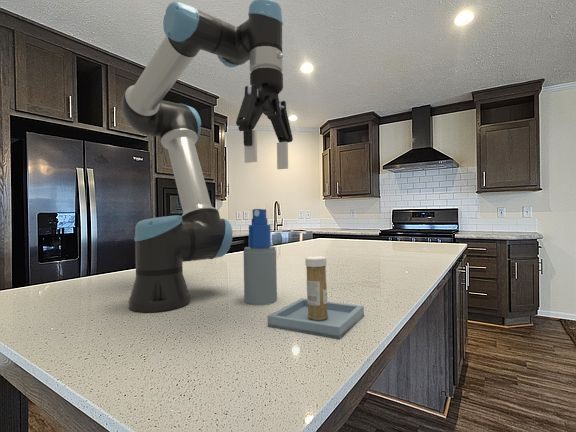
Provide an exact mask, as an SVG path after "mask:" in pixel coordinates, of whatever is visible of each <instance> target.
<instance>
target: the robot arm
mask: <svg viewBox="0 0 576 432" xmlns="http://www.w3.org/2000/svg"><path fill="white" fill-rule="evenodd" d="M247 13H248V14H247V16H248V18H247V20H246V21H244V22H242V23H241V24H239V25H238V26H236V25H233V24H231V23H228V22H227V21H225V20H223V19H220V18H217V17H216V16H212V15H210V14H209V13H206V12H204V11H202V10H200V9H197V8H196V7H195V6H193V5H189V4H185V3H183V2H179V1H172V2H171V3H169V4H168V5H167V7H166V9H165V14H164V15H163V22H162V23H163V25H162V27H163V28H162V29H163V32H164V35H165V37H164V38H163V40H162V41H161V43H160V45H159V46H158V47H157V49H156V51H155V52H154V54H153V56H152V57H151V59H150V60H149V62H148V64H147V65H146V66H145V68H144V70H143V71H142V73H141V75H139V78H137V81H136V82H135V84H133V85H130V86H129V87H128V88H127V89H126V90H125V91H124V93H123V95H122V98H121V111H122V115H123V117H124V119H125V120H126V122H127V123H128V125H130V126H129V127H131V128H132V129H134V130H135V131H136V132H138V133H140V134H142V135H145V136H150V137H156V138H157V137H158V138H159V140H160V143H161V146H162V147H163V149H167V153H168V155H169V160H170V165H171V168H172V172H173V176H174V181H175V185H176V188H177V193H178V197H179V201H180V204H181V209H182V215H176V214H175V215H169V216H168V215H167V216H160V217H159V216H158V217H152V218H146V219H142V220H140V221H138V222H137V223H136V225H135V229H134V231H135V233H134V237H133V239H134V248H135V250H134V253H135V254H134V257H135V278H134V280H135V281H134V282H133V286H132V289H131V293H130V296H129V298H128V299H129V300H128V308H129V310H130V311H134V312H138V313H139V312H140V313H150V312H151V313H156V312H167V311H171V310H176V309H179V308H183V307H184V306H187V305H188V304H190V302H191V296H190V295H191V293H190V291H189V289H188V286H187V283H186V279H185V277H184V272H183V265H184V264H183V263H185V262H186V263H187V262H193V261H195V262H196V261H202V260H203V261H204V260H213V259H217V258H222V257H224V256H225V255H226V254H227V253H228V251H230V248H231V245H232V242H233V228H232V224H231V222H230V221H229V220H228V219H225V218H221V216H220V212H219V209H217V208H216V207H214V206H212V203H211V199H210V195H209V194H210V193H209V191H208V187H207V185H206V181H205V177H204V173H203V170H202V169H203V168H202V166H201V162H200V158H199V155H198V152H197V148H196V143H197V142H198V140H199V138H200V135H201V133H202V131H201V130H202V128H201V126H202V120H201V117H200V115H199V112H198V111H197V110H196V109H195V108H194V107H192V106H190V105H187V104H185V103H176V102H172V101H167V100H164V98H165V96H166V95H167V94H168V92H169V91H170V90H171V89H172V87H173V86H174V84H175V83H176V81H177V80H178V79H179V78H180V77H181V75H182V74H183V73H184V71H186V69H187V67H188V66H189V65H190V64H191V63H192V61H193V60H194V59H195V57H196V56H197V55H198V54H199V52H200V51H204V52H207V53H209V54H210V53H211V54H213V55H216V56H217V58H218V59H219V61H220V62H222V64H223V65H224V66H225V67H228V68H236V67H238V66H241V65H244V64H246V63H247V62H249V85H246V86H244V96H243V99H242V102H241V104H240V109H239V110H238V111H239V112H238V114H237V118H236V122H235V125H236V126H237V127H238V131H239V132H243V133H242V134H243V146H244V147H243V149H244V150H243V151H244V163H246V164H249V163H258V143H257V142H258V140H257V139H258V137H257V135H258V133H257V132H258V131H257V130H254V129H255V128H256V125H257V124H258V122H259V120H260V118H261V117H262V116H263V114H264V115H265V116H266V117H267V119H269V120H270V122H271V125H272V127H273V130H274V133H275V136H276V138H277V141H278V142H276V158H277V159H276V165H277V166H276V167H277V168H276V169H277V170H288V169H289V143H291V142H293V140H294V138H293V134H292V129H291V126H290V125H291V124H290V120H289V116H288V113H287V112H288V111H287V102H286V100H280V99H279V94H280V93H281V92H282V91H283V90H284V76H283V75H284V74H283V73H282V72H283V58H284V54H283V25H284V24H283V23H284V22H283V17H282V8H281V6H280V4H279V2H277V1H276V0H252V1H251V3H250V4H249V7H248V12H247Z"/></svg>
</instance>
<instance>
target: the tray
mask: <svg viewBox="0 0 576 432" xmlns="http://www.w3.org/2000/svg"><path fill="white" fill-rule="evenodd" d="M327 314H328V318H327V319H324V320H311V319H309V318H308V303H307V298H304V297H303V298H299V299H297V300H296V301H294V302H291V303H289V304H287V305H285V306H283V307H282V308H280V309H279V310H276V311H274V312H272V313H270V314H268V315H267V316H266V318H267V327H269V328H275V329H280V330H281V329H282V330H286V331H293V332H298V333H302V334H303V333H304V334H309V335H315V336H319V337H325V338H326V337H327V338H333V339H337V340H340V339H341V338H343V336H344V335H345V334H347V333H348V331H349V330H351V328H353V327H354V326H355V325H356V324H357V323H358V322H359V321H360V320H361V319H363V317H364V316H365V307H364V305H359V304H350V303H344V302H343V303H342V302H335V301H334V302H333V301H327Z"/></svg>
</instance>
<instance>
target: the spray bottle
mask: <svg viewBox="0 0 576 432" xmlns="http://www.w3.org/2000/svg"><path fill="white" fill-rule="evenodd" d="M271 240H272V236H271V224H269V223H268V218H267V209H263V208H262V209H261V208H254V209H252V218H251V224H249V225H248V246H245V247H244V249H243V288H244V289H243V291H244V292H243V294H244V297H243V298H244V299H243V300H244V303H246V304H248V305H255V306H259V305H260V306H261V305H262V306H264V305H270V304H273V303H276V302H277V301H278V290H277V288H278V285H277V283H278V281H277V280H278V279H277V250H276V246H272V244H271V243H272V241H271Z"/></svg>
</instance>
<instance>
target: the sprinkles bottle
mask: <svg viewBox="0 0 576 432" xmlns="http://www.w3.org/2000/svg"><path fill="white" fill-rule="evenodd" d="M305 266H306V267H305V269H306V296H307V297H306V299H307V303H308V318H309V319H311V320H324V319H327V318H328V314H327V302H328V291H327V289H328V287H327V286H328V285H327V274H326V273H327V269H326V268H327V257H326V256H321V255H312V256H311V255H310V256H307V257H305Z"/></svg>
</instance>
